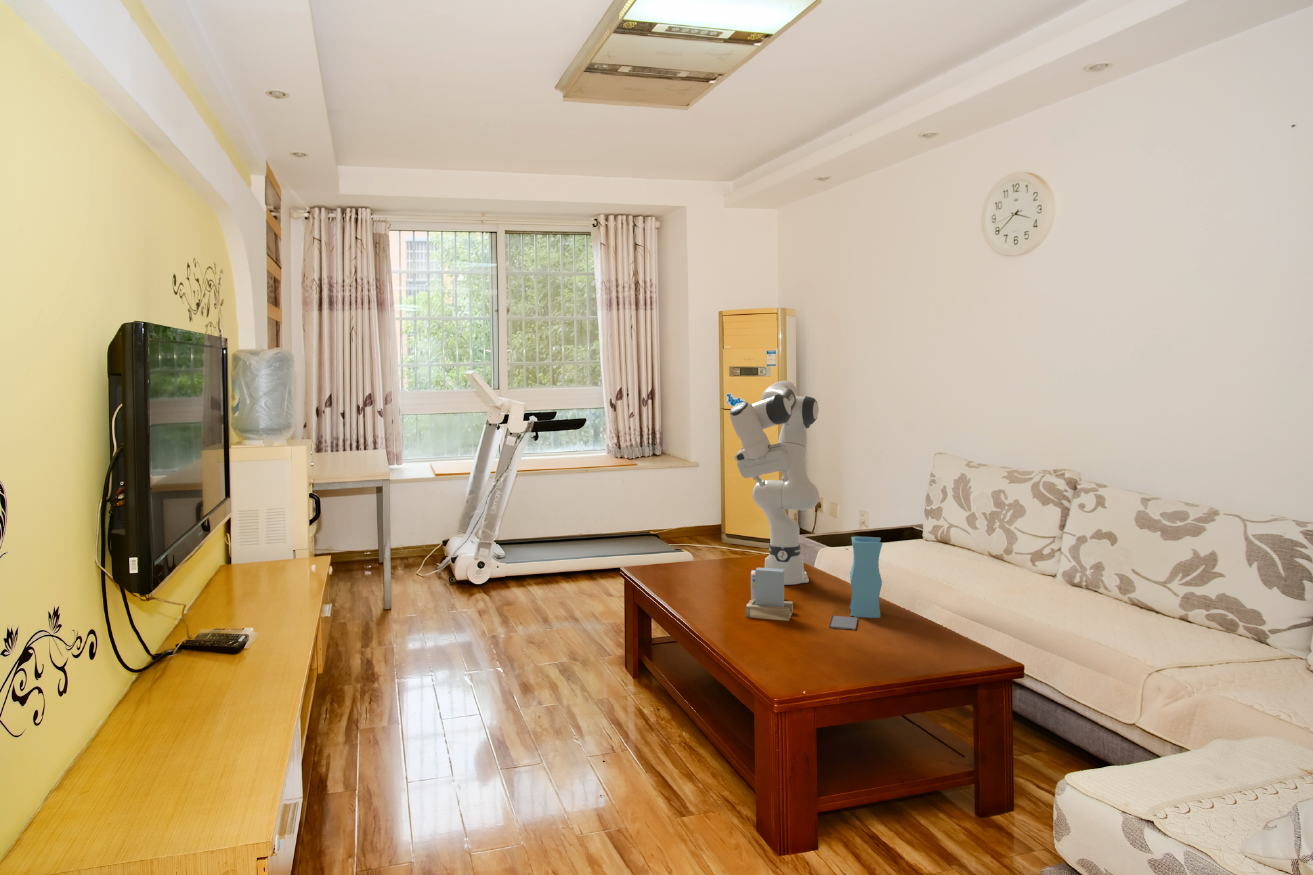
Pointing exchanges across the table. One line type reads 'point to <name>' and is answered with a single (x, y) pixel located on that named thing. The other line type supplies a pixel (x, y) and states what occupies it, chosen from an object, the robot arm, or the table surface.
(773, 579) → the cover plate
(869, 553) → the vase
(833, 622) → the felt pad
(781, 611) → the birch box
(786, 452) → the robot arm
